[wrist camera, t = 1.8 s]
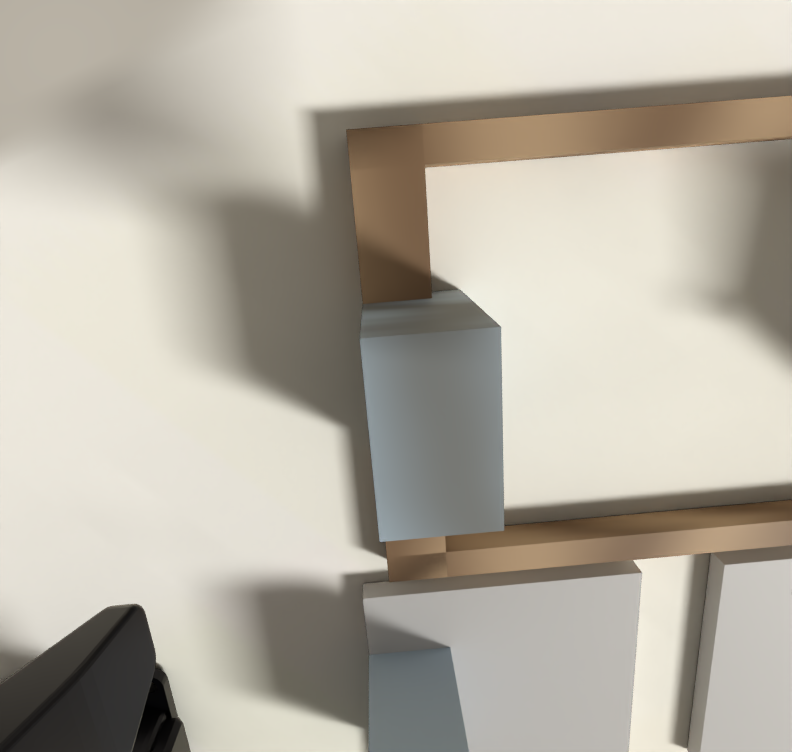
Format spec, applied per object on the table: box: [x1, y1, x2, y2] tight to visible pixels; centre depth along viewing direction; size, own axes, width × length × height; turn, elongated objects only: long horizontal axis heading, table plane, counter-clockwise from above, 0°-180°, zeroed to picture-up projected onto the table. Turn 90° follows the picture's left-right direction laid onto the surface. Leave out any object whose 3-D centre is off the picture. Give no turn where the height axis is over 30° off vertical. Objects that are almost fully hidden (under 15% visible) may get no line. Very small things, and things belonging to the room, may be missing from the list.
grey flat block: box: [363, 545, 792, 752], centre depth 19 cm, size 26×10×6 cm, turn 94°
